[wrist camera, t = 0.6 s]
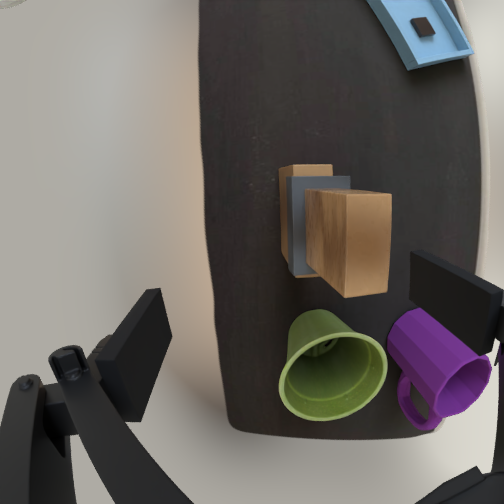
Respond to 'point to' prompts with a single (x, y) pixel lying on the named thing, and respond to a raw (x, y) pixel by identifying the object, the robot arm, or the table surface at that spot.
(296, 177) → the brush
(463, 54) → the pan
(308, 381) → the plant pot
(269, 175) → the table surface
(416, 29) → the dark grey flat block
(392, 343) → the mug
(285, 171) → the square wooden block
